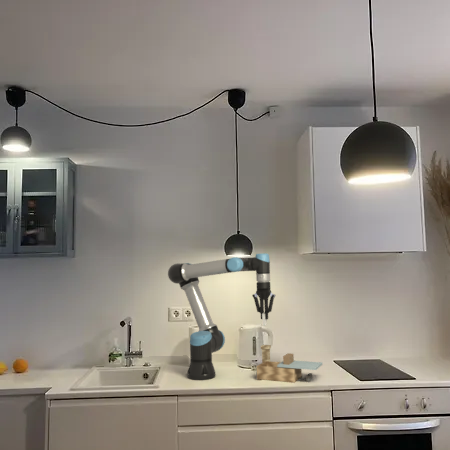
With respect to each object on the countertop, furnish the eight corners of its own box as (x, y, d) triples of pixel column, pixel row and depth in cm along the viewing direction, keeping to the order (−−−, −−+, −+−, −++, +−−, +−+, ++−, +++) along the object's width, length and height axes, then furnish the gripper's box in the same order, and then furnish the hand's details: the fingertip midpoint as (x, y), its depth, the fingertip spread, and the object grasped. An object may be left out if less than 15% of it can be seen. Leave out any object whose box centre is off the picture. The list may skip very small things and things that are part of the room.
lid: (277, 367, 226) (276, 356, 227) (285, 361, 238) (284, 352, 238) (316, 370, 218) (315, 359, 218) (322, 364, 229) (322, 354, 230)
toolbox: (257, 380, 230) (256, 366, 231) (265, 374, 242) (265, 361, 243) (307, 384, 219) (306, 370, 220) (314, 378, 231) (313, 364, 231)
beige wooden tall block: (261, 370, 250) (260, 346, 252) (264, 369, 254) (263, 344, 255) (268, 371, 248) (268, 346, 250) (271, 369, 252) (270, 345, 254)
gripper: (249, 282, 244) (250, 325, 242) (272, 281, 238) (273, 326, 236) (254, 281, 250) (256, 324, 248) (276, 281, 245) (278, 324, 243)
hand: (264, 325), depth 242 cm, fingers closed
